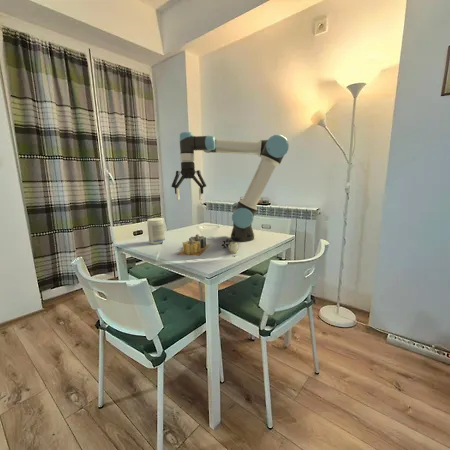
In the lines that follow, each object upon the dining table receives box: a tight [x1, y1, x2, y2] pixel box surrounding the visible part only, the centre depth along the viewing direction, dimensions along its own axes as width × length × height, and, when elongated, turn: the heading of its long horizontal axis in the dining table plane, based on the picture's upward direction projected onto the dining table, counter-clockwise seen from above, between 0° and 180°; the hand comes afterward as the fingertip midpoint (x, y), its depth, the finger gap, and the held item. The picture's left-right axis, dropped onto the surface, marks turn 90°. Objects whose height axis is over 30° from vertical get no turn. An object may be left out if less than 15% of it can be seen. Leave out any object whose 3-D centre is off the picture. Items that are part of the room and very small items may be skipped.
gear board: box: [177, 233, 211, 257], centre depth 135 cm, size 12×20×8 cm, turn 168°
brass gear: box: [182, 240, 201, 256], centre depth 130 cm, size 9×9×5 cm
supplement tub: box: [146, 217, 166, 245], centre depth 155 cm, size 10×10×15 cm
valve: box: [221, 238, 239, 257], centre depth 132 cm, size 7×7×12 cm
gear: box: [188, 235, 207, 248], centre depth 139 cm, size 9×9×5 cm
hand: (189, 199), depth 145 cm, fingers open, 13 cm apart
